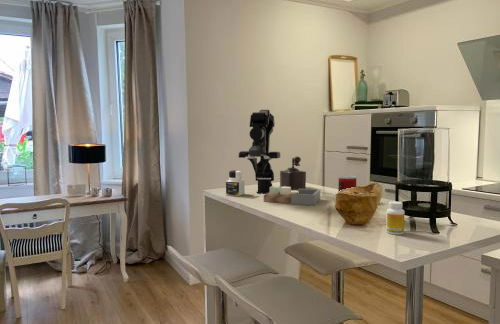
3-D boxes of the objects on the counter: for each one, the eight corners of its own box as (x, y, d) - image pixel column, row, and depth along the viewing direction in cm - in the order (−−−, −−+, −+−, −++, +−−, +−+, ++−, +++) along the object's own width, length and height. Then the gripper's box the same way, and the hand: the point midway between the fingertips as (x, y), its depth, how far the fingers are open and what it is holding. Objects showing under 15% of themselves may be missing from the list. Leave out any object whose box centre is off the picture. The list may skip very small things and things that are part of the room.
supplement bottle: (406, 235, 121) (407, 204, 120) (388, 234, 121) (388, 204, 121) (401, 230, 126) (402, 201, 125) (384, 230, 127) (385, 200, 126)
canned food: (359, 200, 178) (359, 176, 177) (350, 202, 172) (350, 178, 171) (343, 198, 183) (344, 174, 182) (335, 200, 177) (335, 176, 176)
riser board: (263, 201, 175) (263, 195, 175) (271, 197, 186) (271, 190, 186) (292, 203, 171) (292, 196, 170) (298, 198, 182) (298, 192, 182)
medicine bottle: (225, 195, 192) (225, 171, 191) (231, 193, 198) (231, 169, 197) (239, 196, 189) (238, 171, 188) (244, 193, 196) (244, 170, 195)
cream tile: (280, 194, 176) (280, 187, 176) (282, 192, 180) (282, 186, 180) (288, 194, 175) (288, 188, 175) (290, 193, 179) (290, 186, 179)
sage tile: (269, 193, 178) (269, 187, 178) (272, 192, 182) (272, 186, 182) (277, 194, 177) (277, 187, 176) (280, 192, 180) (280, 186, 180)
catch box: (291, 204, 169) (291, 193, 169) (298, 198, 183) (298, 188, 183) (314, 205, 166) (314, 195, 166) (320, 199, 180) (320, 189, 180)
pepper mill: (278, 187, 215) (278, 155, 213) (294, 186, 220) (294, 154, 219) (296, 191, 201) (296, 157, 200) (312, 189, 207) (312, 156, 206)
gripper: (234, 140, 175) (234, 174, 177) (273, 140, 169) (273, 176, 170) (242, 139, 186) (243, 171, 187) (280, 139, 179) (280, 173, 181)
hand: (259, 173), depth 181 cm, fingers open, 3 cm apart
